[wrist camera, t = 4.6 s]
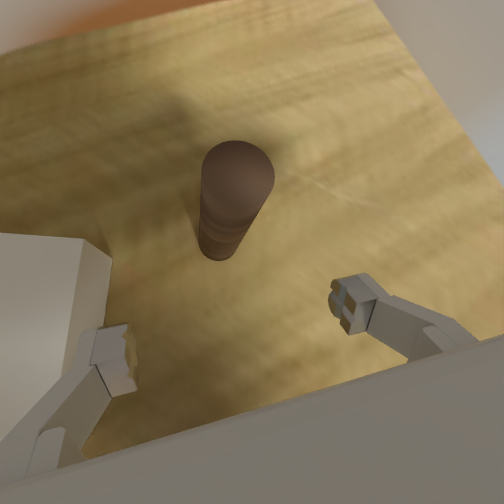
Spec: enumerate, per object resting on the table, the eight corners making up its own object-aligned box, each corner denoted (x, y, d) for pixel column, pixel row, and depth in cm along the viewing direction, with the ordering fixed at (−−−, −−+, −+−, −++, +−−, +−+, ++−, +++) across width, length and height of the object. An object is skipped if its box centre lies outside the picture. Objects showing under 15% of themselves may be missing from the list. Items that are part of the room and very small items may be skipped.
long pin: (236, 262, 24) (274, 211, 12) (197, 259, 23) (199, 204, 12) (238, 225, 25) (274, 145, 13) (200, 222, 24) (204, 135, 13)
